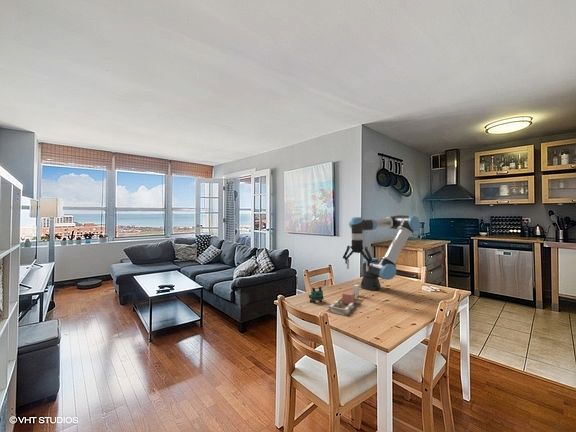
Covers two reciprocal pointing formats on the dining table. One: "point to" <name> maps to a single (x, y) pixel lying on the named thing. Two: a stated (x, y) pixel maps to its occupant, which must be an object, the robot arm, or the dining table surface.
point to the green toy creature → (316, 295)
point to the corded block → (350, 295)
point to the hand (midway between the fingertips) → (357, 269)
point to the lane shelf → (344, 307)
